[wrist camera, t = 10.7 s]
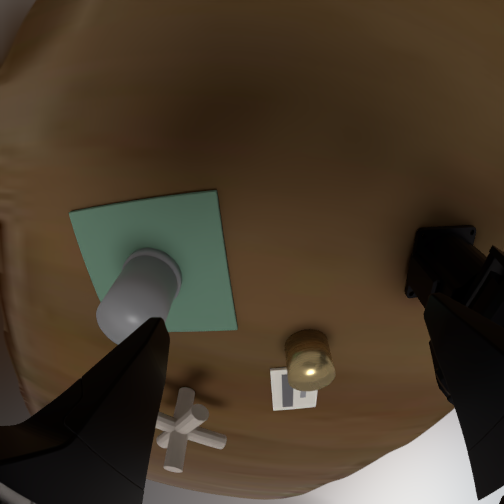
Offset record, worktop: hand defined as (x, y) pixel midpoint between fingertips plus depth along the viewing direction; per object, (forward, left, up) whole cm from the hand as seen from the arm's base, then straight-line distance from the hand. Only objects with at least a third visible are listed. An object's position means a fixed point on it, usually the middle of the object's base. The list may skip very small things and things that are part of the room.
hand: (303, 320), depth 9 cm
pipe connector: (+11, +21, -12) cm, 27 cm away
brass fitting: (-2, +14, -12) cm, 19 cm away
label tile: (-1, +21, -12) cm, 24 cm away
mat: (+10, +5, -12) cm, 16 cm away
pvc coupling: (+10, +5, -12) cm, 16 cm away
